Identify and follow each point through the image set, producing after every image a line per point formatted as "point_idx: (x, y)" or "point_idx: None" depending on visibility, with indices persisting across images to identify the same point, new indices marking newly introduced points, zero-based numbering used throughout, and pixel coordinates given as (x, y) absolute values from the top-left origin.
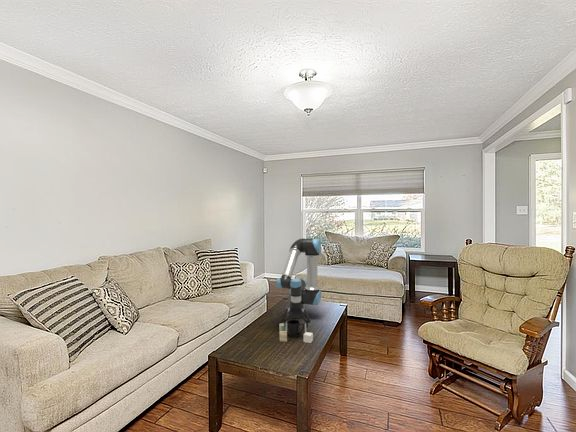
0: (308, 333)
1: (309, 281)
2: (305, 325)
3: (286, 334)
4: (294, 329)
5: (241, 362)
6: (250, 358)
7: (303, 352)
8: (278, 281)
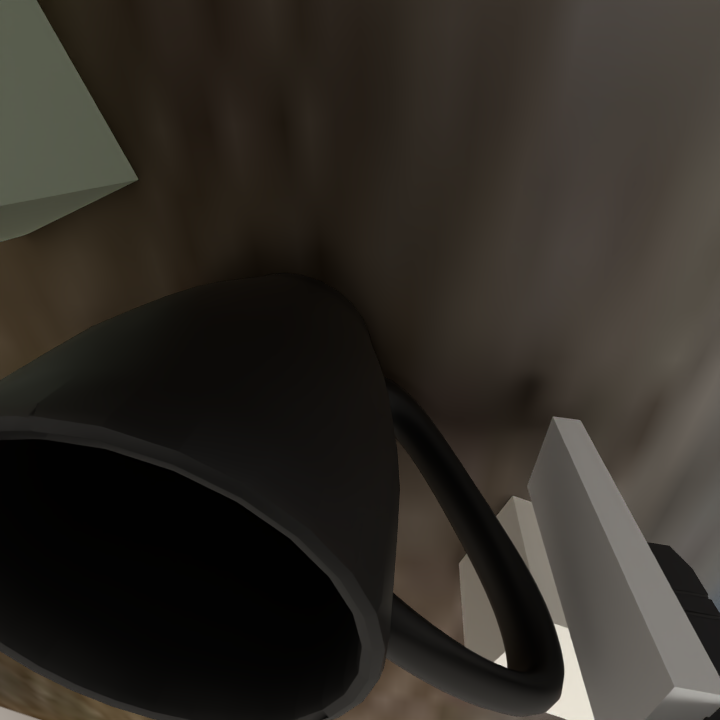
0: (579, 672)
1: None
2: (599, 682)
3: None
4: (277, 557)
5: (25, 713)
6: (48, 695)
7: (433, 709)
8: None
